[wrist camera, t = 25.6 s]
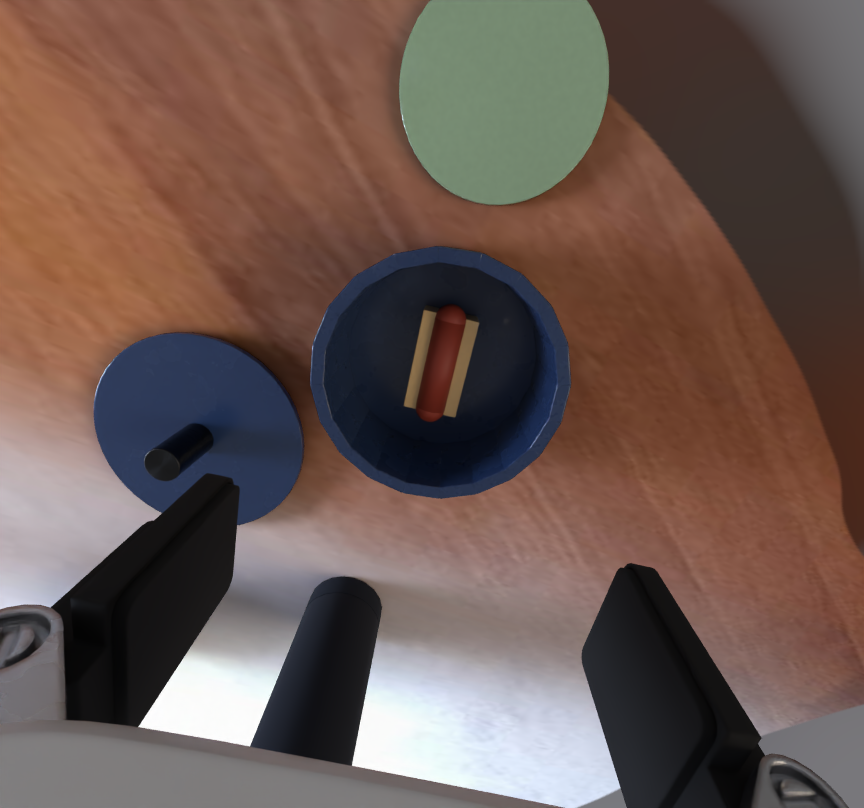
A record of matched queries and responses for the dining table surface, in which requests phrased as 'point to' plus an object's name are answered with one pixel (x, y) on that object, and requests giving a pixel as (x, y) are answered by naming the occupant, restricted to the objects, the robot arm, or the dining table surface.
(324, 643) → the black bottle
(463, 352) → the hot dog
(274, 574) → the dining table surface
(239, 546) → the dining table surface
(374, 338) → the pot
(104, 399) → the pot lid
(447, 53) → the plate
